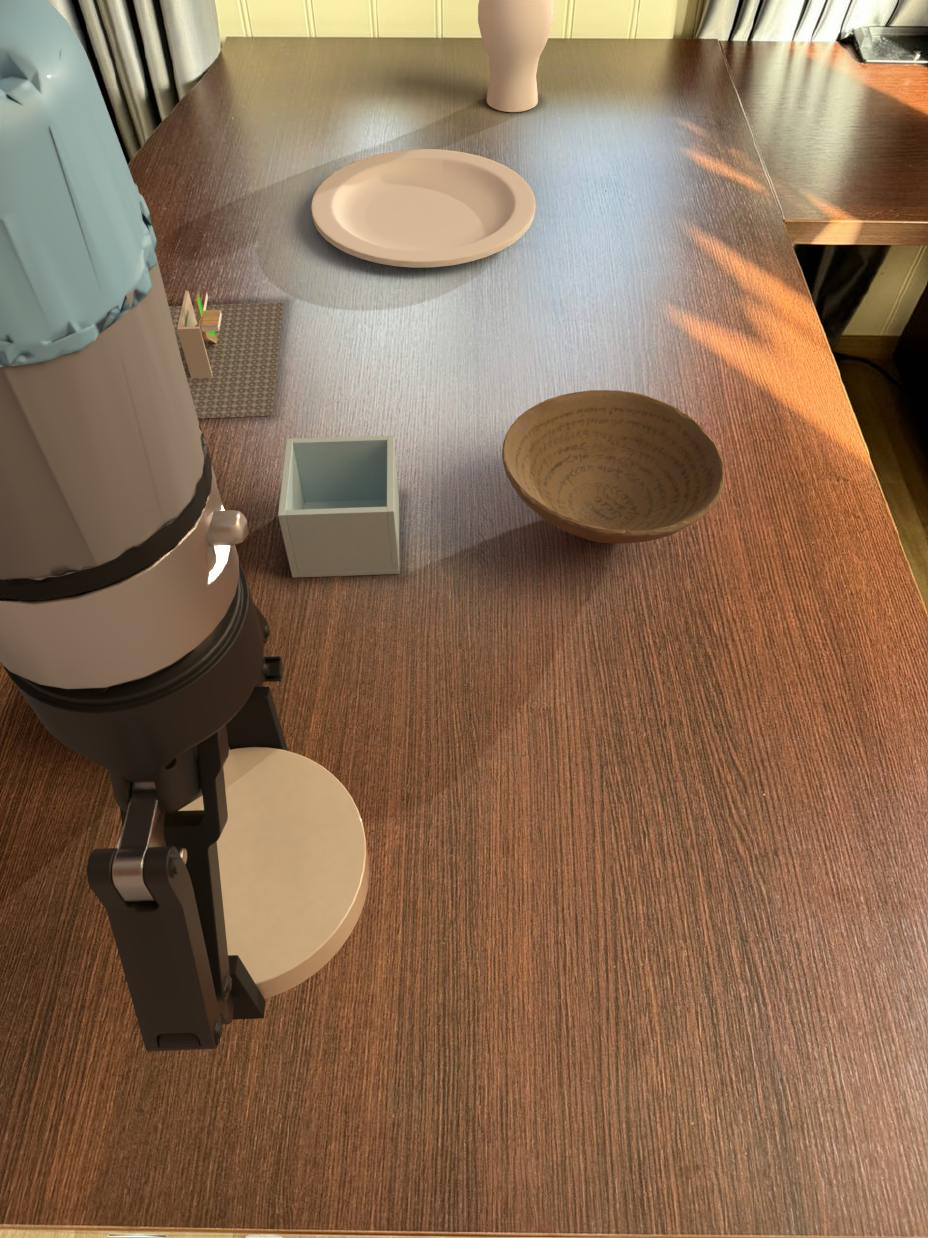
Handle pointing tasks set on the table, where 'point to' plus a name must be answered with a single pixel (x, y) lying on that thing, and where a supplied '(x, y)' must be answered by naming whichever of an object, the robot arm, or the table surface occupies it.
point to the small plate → (288, 865)
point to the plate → (423, 208)
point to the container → (340, 506)
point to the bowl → (613, 466)
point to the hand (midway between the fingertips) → (250, 874)
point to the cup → (514, 49)
